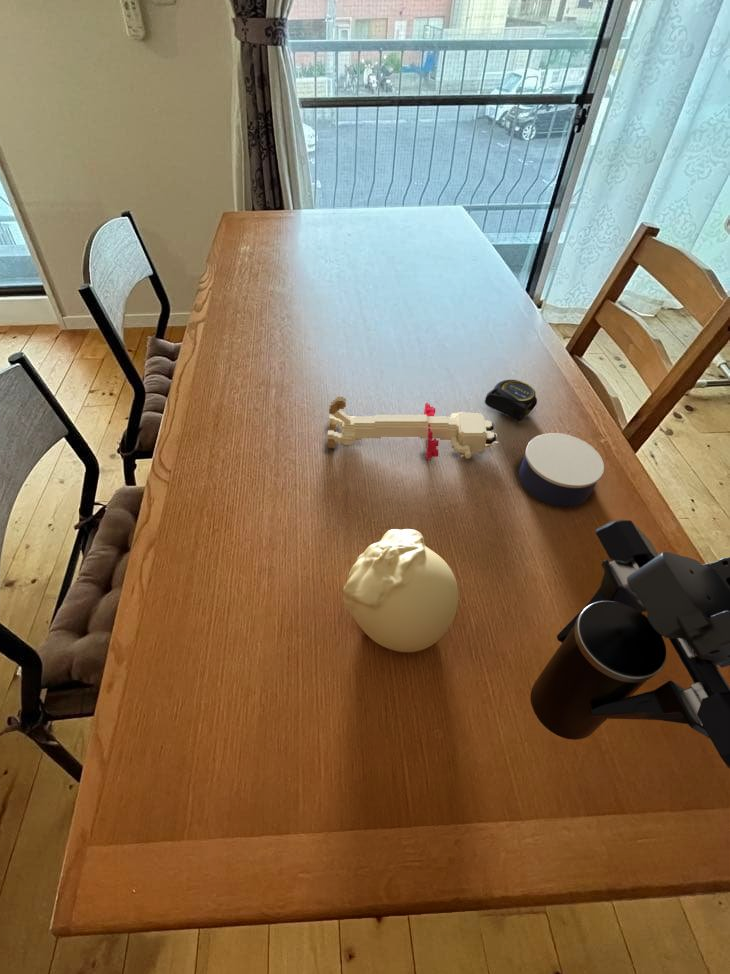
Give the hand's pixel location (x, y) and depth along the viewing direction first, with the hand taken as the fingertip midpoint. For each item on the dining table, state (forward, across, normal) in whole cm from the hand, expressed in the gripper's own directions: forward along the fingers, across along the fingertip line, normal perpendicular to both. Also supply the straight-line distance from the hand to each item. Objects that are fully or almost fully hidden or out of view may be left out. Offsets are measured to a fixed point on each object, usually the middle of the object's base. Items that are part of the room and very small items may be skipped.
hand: (574, 675), depth 45 cm
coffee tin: (-2, -33, +21) cm, 39 cm away
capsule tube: (+4, 0, +6) cm, 7 cm away
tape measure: (-1, -49, +20) cm, 53 cm away
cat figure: (+12, -43, +8) cm, 45 cm away
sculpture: (+17, -14, +2) cm, 22 cm away
